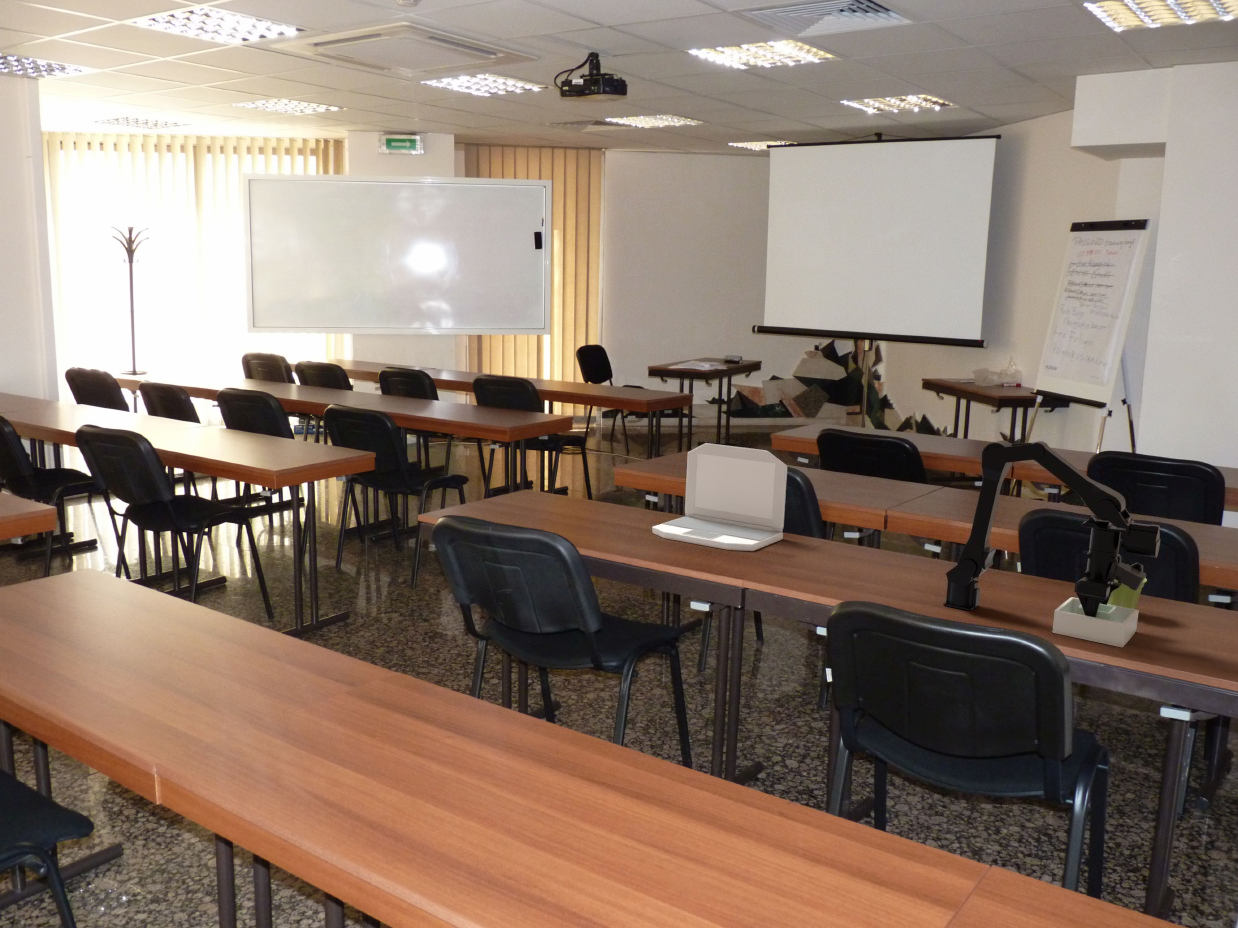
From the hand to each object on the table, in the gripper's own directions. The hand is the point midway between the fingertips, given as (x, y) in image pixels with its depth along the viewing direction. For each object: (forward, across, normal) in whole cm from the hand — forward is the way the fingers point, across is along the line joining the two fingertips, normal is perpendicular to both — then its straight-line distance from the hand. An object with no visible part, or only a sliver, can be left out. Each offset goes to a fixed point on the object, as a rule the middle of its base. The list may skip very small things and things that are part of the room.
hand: (1095, 618), depth 218 cm
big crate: (+3, 0, 0) cm, 3 cm away
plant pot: (+3, +21, -1) cm, 21 cm away
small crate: (+2, 0, 0) cm, 2 cm away
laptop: (+4, +17, +109) cm, 110 cm away
